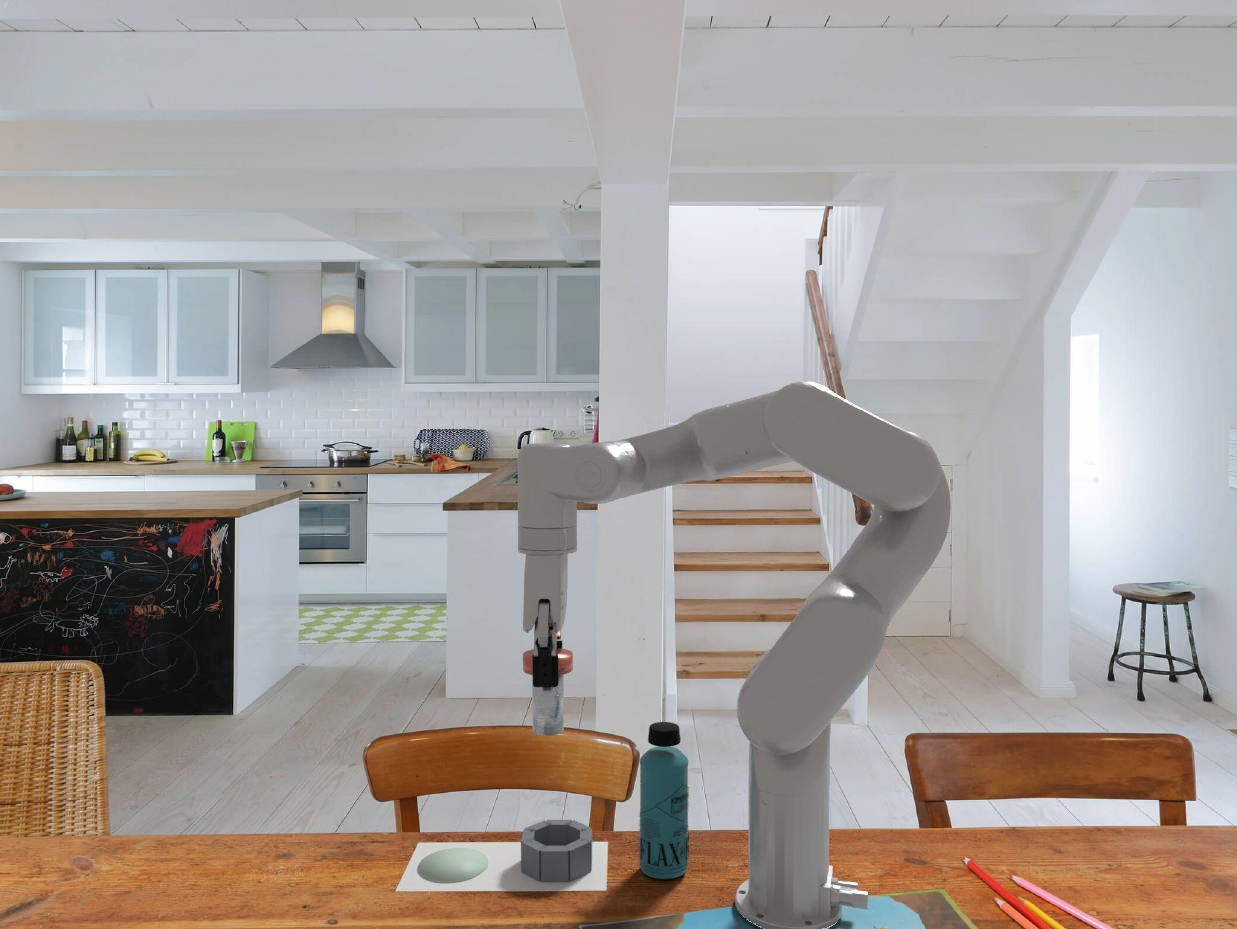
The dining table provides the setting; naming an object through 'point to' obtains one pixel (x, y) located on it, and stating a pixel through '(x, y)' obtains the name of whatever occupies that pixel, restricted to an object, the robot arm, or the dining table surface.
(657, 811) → the beverage bottle
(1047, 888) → the dining table surface
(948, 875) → the dining table surface
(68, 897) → the dining table surface
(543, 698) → the copper domed post
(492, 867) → the board
